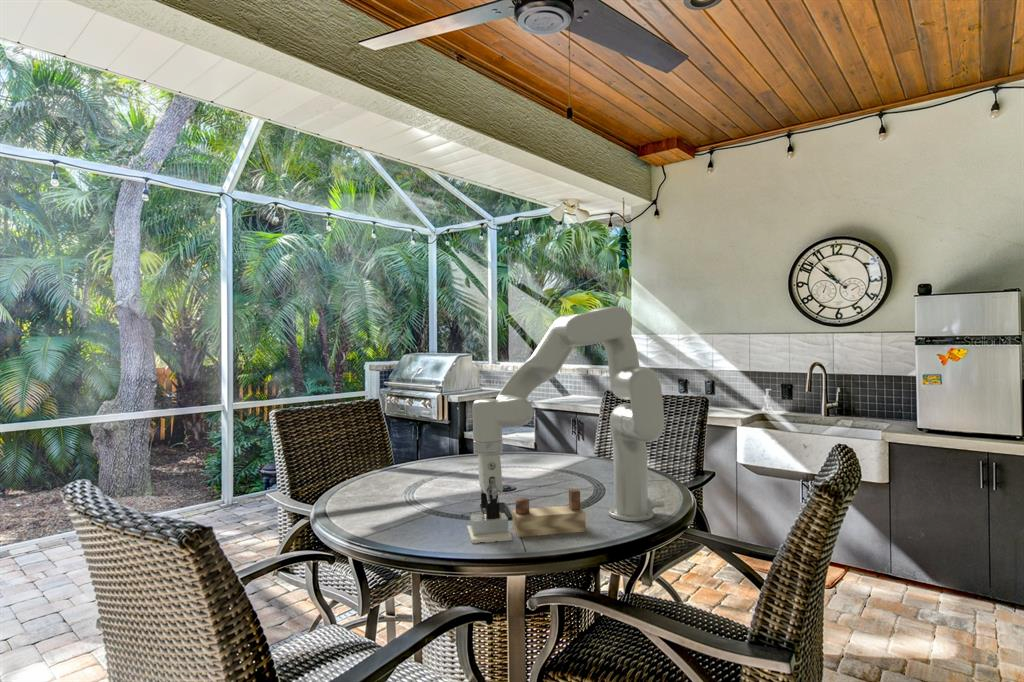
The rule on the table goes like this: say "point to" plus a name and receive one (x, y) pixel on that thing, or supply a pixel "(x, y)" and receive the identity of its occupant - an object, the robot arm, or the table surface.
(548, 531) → the body
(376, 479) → the table surface
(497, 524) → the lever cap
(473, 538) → the felt mat
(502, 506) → the phone
